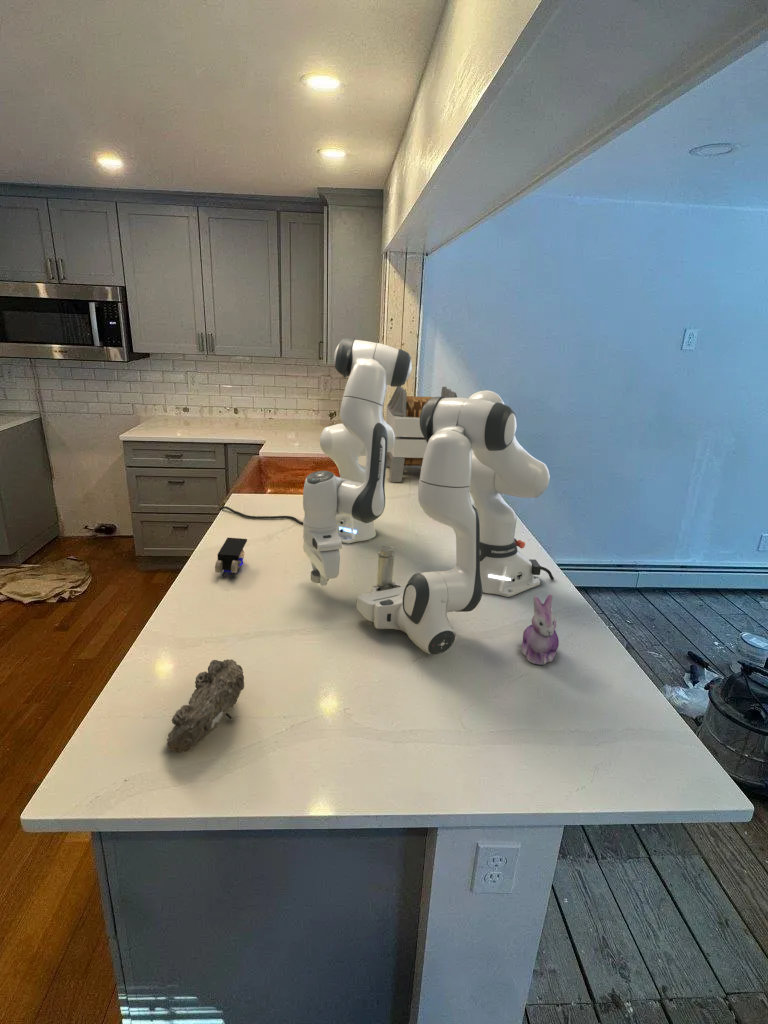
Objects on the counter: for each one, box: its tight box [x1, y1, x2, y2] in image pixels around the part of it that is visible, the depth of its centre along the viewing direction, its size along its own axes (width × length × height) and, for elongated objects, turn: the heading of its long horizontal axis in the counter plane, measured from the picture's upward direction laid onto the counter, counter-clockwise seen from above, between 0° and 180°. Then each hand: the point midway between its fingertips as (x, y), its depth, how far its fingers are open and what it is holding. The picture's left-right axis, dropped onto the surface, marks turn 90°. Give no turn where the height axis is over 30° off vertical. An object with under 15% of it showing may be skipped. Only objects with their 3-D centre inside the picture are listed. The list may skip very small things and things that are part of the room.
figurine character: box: [214, 537, 248, 578], centre depth 166 cm, size 7×8×15 cm
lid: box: [310, 569, 330, 584], centre depth 154 cm, size 5×5×2 cm
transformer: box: [385, 386, 458, 483], centre depth 268 cm, size 34×33×41 cm
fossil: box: [166, 658, 245, 754], centre depth 106 cm, size 22×10×15 cm
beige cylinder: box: [376, 545, 395, 591], centre depth 149 cm, size 4×4×17 cm
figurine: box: [521, 594, 560, 666], centre depth 130 cm, size 9×10×15 cm
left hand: (319, 580), depth 154 cm, fingers closed on lid, 4 cm apart
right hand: (382, 586), depth 150 cm, fingers closed on beige cylinder, 4 cm apart
